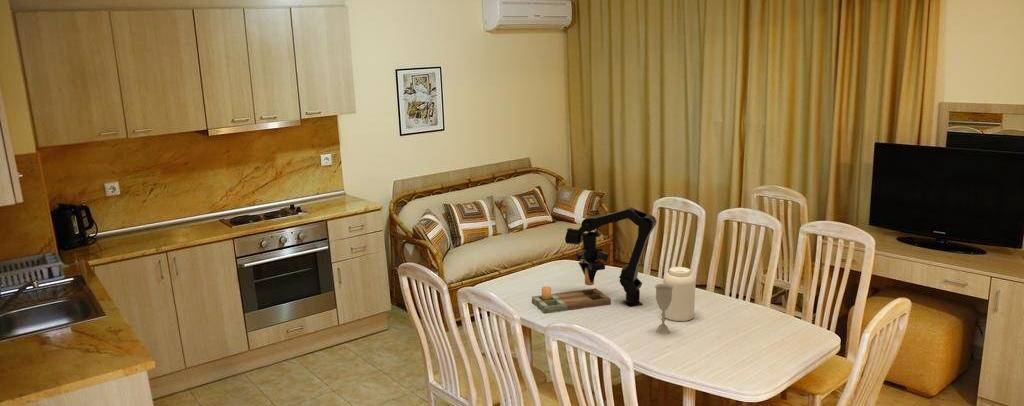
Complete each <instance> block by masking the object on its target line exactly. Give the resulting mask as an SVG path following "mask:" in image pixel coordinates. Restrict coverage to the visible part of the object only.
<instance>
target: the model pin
mask: <svg viewBox="0 0 1024 406" xmlns="http://www.w3.org/2000/svg"><path fill="white" fill-rule="evenodd" d="M551 294H552V287H550V286H542V287H541V295H542V301H547V300H551Z"/></svg>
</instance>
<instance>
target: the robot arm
mask: <svg viewBox="0 0 1024 406" xmlns="http://www.w3.org/2000/svg"><path fill="white" fill-rule="evenodd" d="M627 219H629V220H630V221H631V222H632V223H633V224H634V225H636V226H638V229H637V238H636V241H635V243H634V244H635V245H634V247H633V250H632V252H631V255H630V259H629V261H628V263H627V264H628V265H624V266H623V267H622V269H621V271H620V276H618V278H619V283H620V285H621V286H622V288H623V290H624V293H625V300H622V303H623V304H624V305H625V306H627V307H636V306H637V307H638V306H643V302H641V301H640V300H641V299H640V295H641V293H640V291H641V290H640V288H641V287H642V284H643V283H642V281H641V280H640V279H639V278H638V274H639V265H640V261H641V259H642V256H643V253H644V251H645V248H646V245H647V242H648V238H649V237H650V235H651V234H652V232H653V230H654V229H655V227H656V225H657V219H656V217H655V215H653V214H648V213H645V212H643V211H641V210H638V209H635V208H634V207H628V208H625V209H620V210H617V211H614V212H610V213H607V214H604V215H603V214H602V215H599V214H597V215H590V216H587V217H586V218H584V219H583V220H582V221H581V226H580V227H579V228H572V227H568V228H567V230H566V234H565V237H564V241H565V244H567V245H577V246H580V245H581V243H582V247H581V248H580V249H581V251H582V252H579V253H578V252H577V253H575V255H574V260H575V261H576V262H578V264H579V267H580V269H581V271H582V273H583V275H584V276H585V268H586V267H587V268H586V270H587V273H588V276H589V279H590V282H593V280H594V281H595V276H596V274H597V272H598V271H601V270H605V269H606V264H605V263H604V262H608V259H609V257H610V254H609V253H607V252H606V251H604V250H603V248H601V247H597V238H600V237H601V236H602V233H601V232H600V231H599V230H598V228H600V227H602V226H605V225H608V224H612V223H615V222H620V221H622V220H623V221H624V220H627ZM594 230H595V231H594ZM603 261H604V262H603Z"/></svg>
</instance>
